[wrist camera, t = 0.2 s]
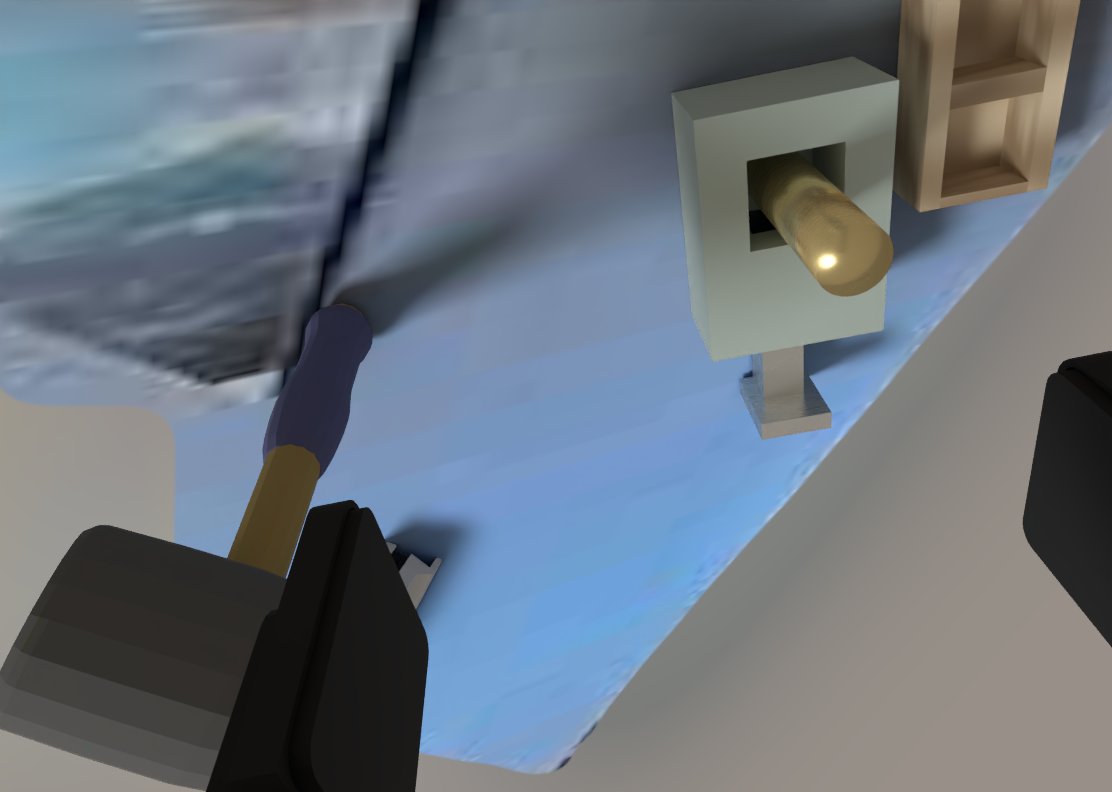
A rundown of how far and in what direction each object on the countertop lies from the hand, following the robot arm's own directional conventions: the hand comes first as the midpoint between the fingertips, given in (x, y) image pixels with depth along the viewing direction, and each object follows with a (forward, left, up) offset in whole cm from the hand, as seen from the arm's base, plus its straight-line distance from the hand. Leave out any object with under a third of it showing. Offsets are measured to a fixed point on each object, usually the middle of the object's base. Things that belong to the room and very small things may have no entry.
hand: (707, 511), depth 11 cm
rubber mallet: (+13, -16, -37) cm, 42 cm away
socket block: (+10, +11, -37) cm, 39 cm away
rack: (+2, +22, -37) cm, 43 cm away
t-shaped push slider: (+20, +11, -36) cm, 43 cm away
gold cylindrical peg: (+8, +11, -36) cm, 38 cm away
